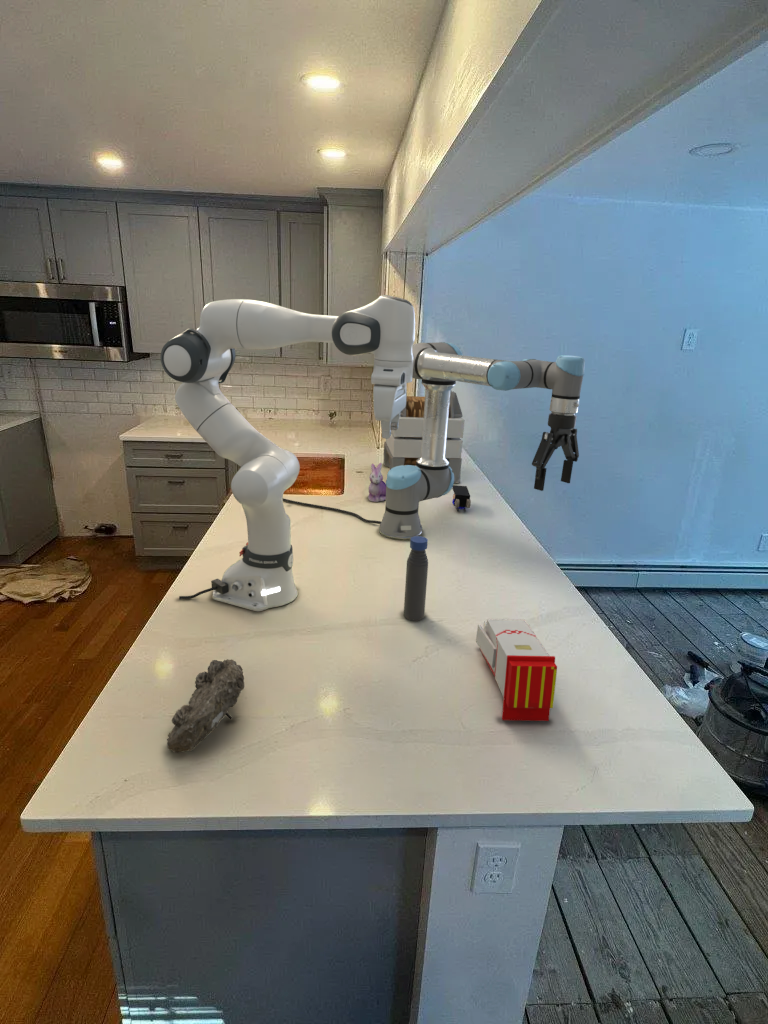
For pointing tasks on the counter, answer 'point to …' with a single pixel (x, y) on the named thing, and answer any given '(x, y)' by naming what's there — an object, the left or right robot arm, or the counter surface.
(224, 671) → the fossil
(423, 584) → the bottle
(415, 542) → the cap
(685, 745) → the counter surface
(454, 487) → the figurine character
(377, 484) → the figurine
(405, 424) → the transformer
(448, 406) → the right robot arm
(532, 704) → the toy
